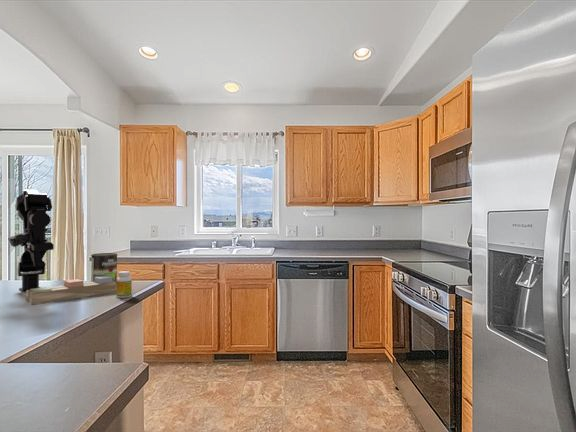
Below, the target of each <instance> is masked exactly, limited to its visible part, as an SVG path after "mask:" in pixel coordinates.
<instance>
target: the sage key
mask: <svg viewBox="0 0 576 432" xmlns="http://www.w3.org/2000/svg"><path fill="white" fill-rule="evenodd" d="M31 291H32V292H34V293H36V292H43V291H51V289H50V288H48V287H47V286H43V287H42V286H41V288H34V289H31Z"/></svg>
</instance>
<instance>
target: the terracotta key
mask: <svg viewBox="0 0 576 432" xmlns="http://www.w3.org/2000/svg"><path fill="white" fill-rule="evenodd" d="M83 283H84V280H82V279H79V278H76V279H67V280H64V283H63V284H64V286H65V287H67V288H73V287H80V286H83Z"/></svg>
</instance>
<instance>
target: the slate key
mask: <svg viewBox="0 0 576 432" xmlns="http://www.w3.org/2000/svg"><path fill="white" fill-rule="evenodd" d="M94 282H95V283H98V284H102V283H109V282H112V277H110V276H99V277H94Z"/></svg>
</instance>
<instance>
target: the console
mask: <svg viewBox="0 0 576 432" xmlns="http://www.w3.org/2000/svg"><path fill="white" fill-rule="evenodd" d="M116 286H117V285H116V282H114V281H112V282H109V283H102V284H98V283H95V282H91V281H87V282H83V286H80V287H73V288H67V287H65V286H64V285H56V286H49V287H48V288H50V289H51V291H43V292H36V293H34V292H32V291H31V290H26V291H25V302H26V301H27V302H26V303H28V304H30V305H31V306H32V305H40V304H46V303H52V302H57V301H66V300H71V299H77V298H83V297H84V298H85V297H90V295H91V296H98V295H102V294H110V293H115V292H116ZM97 294H98V295H97Z"/></svg>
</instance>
